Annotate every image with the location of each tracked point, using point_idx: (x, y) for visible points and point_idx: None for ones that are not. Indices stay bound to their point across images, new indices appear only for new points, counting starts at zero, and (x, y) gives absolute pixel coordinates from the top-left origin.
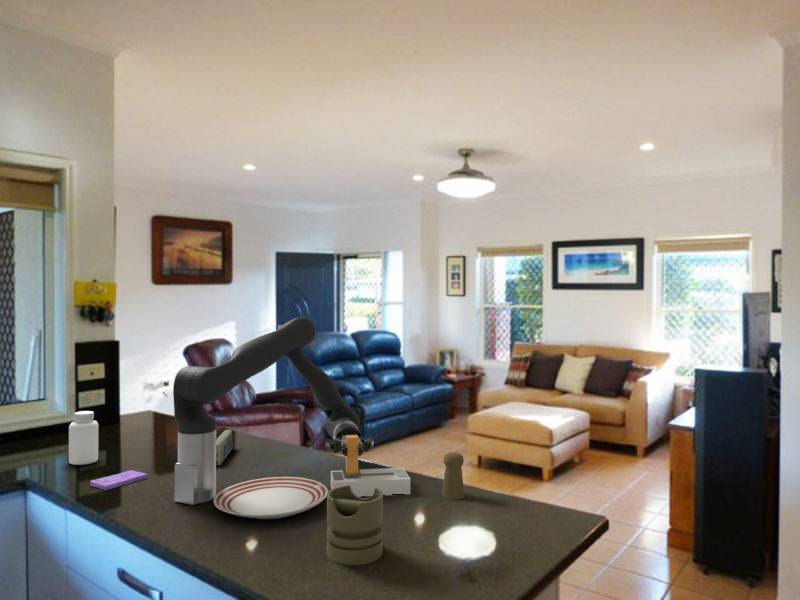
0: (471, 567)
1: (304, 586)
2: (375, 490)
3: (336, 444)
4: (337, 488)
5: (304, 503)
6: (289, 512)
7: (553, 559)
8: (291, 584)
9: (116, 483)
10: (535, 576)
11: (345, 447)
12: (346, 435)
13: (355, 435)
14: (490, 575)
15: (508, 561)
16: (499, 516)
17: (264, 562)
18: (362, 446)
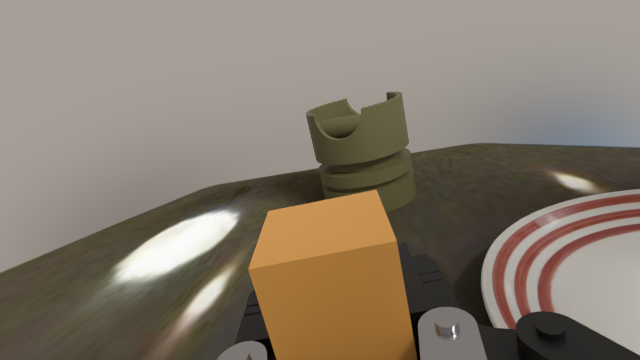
0: (225, 201)
1: (426, 155)
2: (315, 117)
3: (531, 318)
4: (385, 101)
5: (582, 309)
6: (548, 207)
7: (118, 225)
8: (443, 153)
9: None
10: (172, 202)
11: (399, 248)
12: (387, 234)
13: (276, 248)
14: (216, 196)
15: (173, 214)
16: (26, 320)
17: (506, 164)
18: (242, 331)
